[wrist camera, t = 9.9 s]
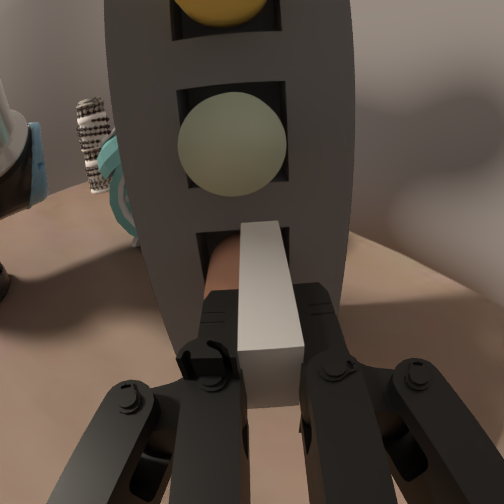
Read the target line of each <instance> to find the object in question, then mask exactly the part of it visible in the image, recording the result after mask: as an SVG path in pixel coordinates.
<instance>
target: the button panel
mask: <svg viewBox="0 0 504 504" xmlns="http://www.w3.org/2000/svg"><path fill="white" fill-rule="evenodd" d="M104 21H105V42H106V55H107V68H108V78H109V88H110V95H111V103H112V111H113V118H114V125H115V131H116V137H117V143H118V149H119V154H120V160H121V165H122V170H123V175H124V180H125V185H126V189H127V194H128V198H129V203H130V207H131V211H132V215H133V219H134V223H135V227H136V231H137V235H138V239H139V243H140V246H141V250H142V254H143V257H144V261H145V264H146V268H147V271H148V274H149V278H150V281H151V284H152V287H153V291H154V294H155V297H156V300H157V303H158V306H159V309H160V312H161V315H162V318H163V321H164V324H165V327H166V330H167V332H168V335H169V338H170V341H171V343H172V346H173V349H174V352H175V354H176V355H177V354H178V352H179V350H180V349H181V348H182V347H183V346H184V345H185V344H186V343H188V342H190V341H192V340H194V339H196V338H197V337H198V331H199V325H200V318H201V315H202V313H201V312H202V306H203V301H204V291H205V285H206V279H207V273H208V267H209V262H210V256H211V253H212V250H213V248H214V247H215V245H216V244H217V243H218V242H219V241H220V240H221V239H223V238H224V237H226V236H228V235H230V234H233V233H236V232H241V223H248V222H263V221H278V223H279V227H280V231H281V236H282V240H283V245H284V249H285V254H286V258H287V263H288V268H289V272H290V277H291V282H292V284H300V283H313V282H319V283H320V284H321V285H322V286H323V287H324V288H325V289H326V290H327V291H328V293H329V296H330V299H331V301H332V305H333V307H334V310H335V314H336V316H338V310H339V304H340V297H341V291H342V284H343V276H344V269H345V261H346V253H347V244H348V234H349V224H350V213H351V201H352V187H353V170H354V146H355V71H354V70H355V69H354V47H353V32H352V19H351V9H350V0H267V3H266V5H265V7H264V8H263V10H262V11H261V12H260V13H259V14H258V15H257V16H256V17H255V18H253V19H252V20H250V21H249V22H247V23H245V24H242V25H240V26H236V27H232V28H221V29H220V28H211V27H207V26H203V25H201V24H199V23H197V22H195V21H194V20H192V19H191V18H190V17H189V16H188V15H187V14H186V13H185V12H184V11H183V9H182V8H181V7H180V6H179V5H178V4H177V3H176V2H175V1H174V0H104ZM228 92H243V93H247V94H250V95H253V96H255V97H257V98H258V99H260V100H261V101H263V102H264V103H265V104H266V105H268V106H269V107H270V108H271V109H272V110H273V111H274V112H275V114H276V115H277V116H278V118H279V120H280V121H281V123H282V126H283V128H284V131H285V135H286V154H285V158H284V161H283V164H282V166H281V168H280V170H279V171H278V173H277V174H276V176H275V177H274V178H273V179H272V180H271V181H270V182H269V183H268V184H267V185H265V186H264V187H263V188H261V189H259V190H257V191H255V192H253V193H250V194H247V195H243V196H232V197H229V196H221V195H217V194H214V193H211V192H208V191H206V190H204V189H203V188H201V187H200V186H198V185H197V184H196V183H195V182H193V181H192V179H191V178H190V177H189V176H188V175H187V173H186V172H185V170H184V168H183V166H182V164H181V161H180V159H179V154H178V136H179V131H180V128H181V126H182V124H183V122H184V120H185V118H186V117H187V115H188V114H189V113H190V111H191V110H192V109H193V108H194V107H196V106H197V105H198V104H199V103H201V102H202V101H204V100H206V99H208V98H210V97H212V96H215V95H219V94H223V93H228Z"/></svg>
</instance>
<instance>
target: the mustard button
mask: <svg viewBox="0 0 504 504" xmlns="http://www.w3.org/2000/svg"><path fill="white" fill-rule="evenodd" d="M174 1H175V2H176V3H177V4H178V5H179V6H180V7H181V8H182V9H183V11H184V12H185V13H186V14H187V15H188V16H189V17H190V18H191V19H192V20H194V21H195V22H197V23H199V24H201V25H203V26H207V27H211V28H220V29H221V28H232V27H236V26H240V25H242V24H245V23H247V22H249V21H250V20H252V19H253V18H255V17H256V16H257V15H258V14H259V13H260V12H261V11H262V10H263V8H264V7H265V5H266V3H267V0H174Z"/></svg>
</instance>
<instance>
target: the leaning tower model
mask: <svg viewBox="0 0 504 504" xmlns="http://www.w3.org/2000/svg"><path fill="white" fill-rule="evenodd" d="M76 110H77V116H78V120H77V121H78V124H79V126H78V127H77V131H80V132H79V133H78V136H80V137H81V139H80V141H79V142H80V143H81V144H82V145H81V149H82V151H83V152H84V155H85V160H86V161H85V163H86V171H88V173H87V176H89V179H88V182H89V183H90V185H89V186H90V188H91V193H93V194H96V193H102V192H106V191H109V190H110V182H111V180H112V177H113V176H112V177H111V178H109V179H107V180H105V179H104V177H103V176H102V175H101V173H100V172H99V168H98V160H97V158H98V155H99V153H100V151H101V149H102V147H100V144H101V143H102V142H101V139H102V138H103V137H104V136H107V137H108V135H109V134H110V133H111V131H109V130H107V129H108V128H109V127H110V126H109V125H108V124H107V125H106V122H107V121H108V120H109V118H107V117H106V116H107V115H106V112H105V110H104V101H103V100H102V99H101V98H100V97H93V98H89V99H86V100H82V101H80V102H79V104H78V106H77V108H76ZM105 117H106V118H105Z"/></svg>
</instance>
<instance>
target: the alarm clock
mask: <svg viewBox="0 0 504 504" xmlns="http://www.w3.org/2000/svg"><path fill="white" fill-rule="evenodd" d="M115 135H116V131H115V128H114V129H113V131H112V133H111V134H110V135H109V136H108V137H107V136H104V137H103V138H102V139H101V142H102V143H101V144H100V147H102V149H101V151H100V153H99V155H98V158H97V160H98V168H99V172H100V173H101V175H102V176H103V177H104V179H105V180H107V179H109V178H111V177H112V176H113V177H112V180H111V182H110V205H111V208H112V210H113V213H114V215H115V218H116V220H117V222H118V223H119V224H120V225H121V226H122V227H123V228H124V229H125V230H126V231H127V232H128V233H129V234H130V235H133V236H134V239H133V242H132V245H131V247H138V246H140V243H139V239H138V235H137V231H136V227H135V223H134V219H133V215H132V211H131V207H130V203H129V198H128V194H127V189H126V185H125V180H124V175H123V170H122V165H121V160H120V154H119V149H118V143H117V137H116V136H115ZM114 136H115V137H114Z"/></svg>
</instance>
